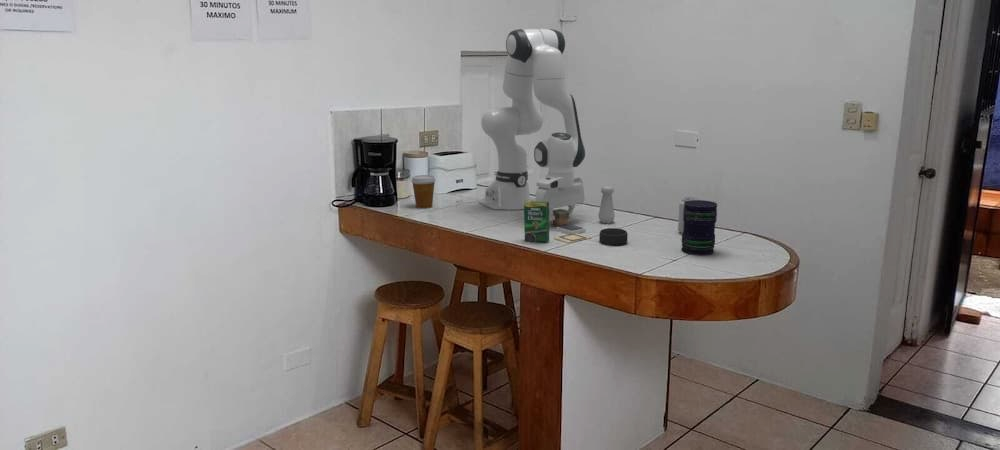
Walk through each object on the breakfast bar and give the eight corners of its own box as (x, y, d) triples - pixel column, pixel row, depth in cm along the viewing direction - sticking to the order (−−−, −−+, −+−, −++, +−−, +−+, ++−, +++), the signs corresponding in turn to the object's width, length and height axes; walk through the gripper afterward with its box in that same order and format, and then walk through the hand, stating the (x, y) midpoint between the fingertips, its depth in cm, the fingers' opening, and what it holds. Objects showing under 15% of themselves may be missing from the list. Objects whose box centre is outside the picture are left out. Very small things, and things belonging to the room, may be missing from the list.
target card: (554, 238, 233) (554, 237, 233) (576, 234, 239) (576, 232, 239) (568, 243, 228) (568, 241, 227) (591, 238, 233) (591, 236, 233)
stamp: (551, 225, 252) (552, 210, 250) (560, 223, 254) (560, 208, 253) (559, 227, 249) (559, 212, 247) (567, 225, 251) (568, 210, 250)
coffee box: (523, 240, 231) (523, 201, 227) (526, 238, 233) (526, 199, 230) (546, 243, 227) (547, 203, 224) (549, 241, 230) (550, 201, 227)
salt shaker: (614, 224, 252) (615, 188, 249) (597, 223, 253) (598, 187, 250) (614, 220, 257) (616, 185, 254) (598, 220, 258) (599, 184, 255)
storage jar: (694, 257, 212) (697, 207, 208) (674, 248, 220) (676, 201, 217) (721, 253, 216) (724, 205, 212) (700, 245, 224) (703, 199, 221)
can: (685, 229, 245) (687, 195, 242) (704, 233, 240) (707, 198, 237) (673, 233, 240) (675, 198, 237) (693, 237, 235) (695, 201, 232)
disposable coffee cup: (423, 203, 289) (422, 174, 286) (441, 206, 283) (440, 176, 280) (407, 207, 281) (406, 177, 278) (425, 210, 276) (424, 179, 273)
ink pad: (556, 230, 244) (556, 226, 243) (570, 227, 247) (570, 223, 247) (571, 234, 238) (571, 230, 237) (585, 232, 241) (585, 227, 241)
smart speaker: (621, 247, 222) (622, 235, 222) (595, 244, 227) (595, 232, 226) (631, 241, 230) (631, 229, 229) (605, 238, 234) (605, 226, 233)
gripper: (576, 175, 256) (575, 213, 259) (532, 182, 244) (532, 221, 247) (588, 178, 251) (587, 216, 254) (544, 184, 239) (544, 224, 242)
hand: (560, 218), depth 251 cm, fingers open, 7 cm apart
